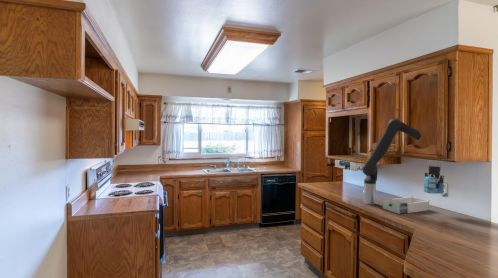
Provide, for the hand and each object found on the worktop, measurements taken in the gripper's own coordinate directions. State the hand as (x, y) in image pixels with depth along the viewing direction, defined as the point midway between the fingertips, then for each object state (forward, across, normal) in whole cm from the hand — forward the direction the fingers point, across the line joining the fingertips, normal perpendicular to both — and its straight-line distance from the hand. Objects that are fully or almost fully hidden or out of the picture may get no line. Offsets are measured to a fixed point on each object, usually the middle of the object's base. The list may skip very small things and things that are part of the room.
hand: (433, 187), depth 220 cm
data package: (+4, 0, 0) cm, 4 cm away
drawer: (+19, -12, -18) cm, 29 cm away
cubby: (+19, -12, -8) cm, 24 cm away
